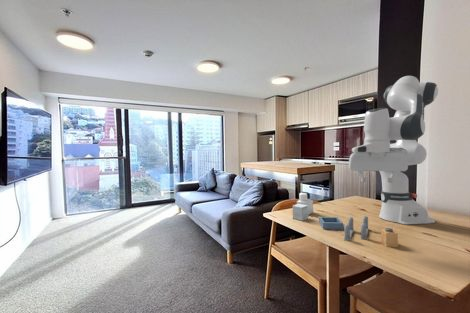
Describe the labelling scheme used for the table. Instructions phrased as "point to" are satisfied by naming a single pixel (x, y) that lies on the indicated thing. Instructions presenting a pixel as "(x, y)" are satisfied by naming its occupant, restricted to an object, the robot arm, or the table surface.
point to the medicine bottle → (306, 201)
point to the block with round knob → (389, 237)
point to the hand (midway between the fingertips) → (376, 182)
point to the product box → (300, 212)
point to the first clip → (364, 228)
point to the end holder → (331, 223)
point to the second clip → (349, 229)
